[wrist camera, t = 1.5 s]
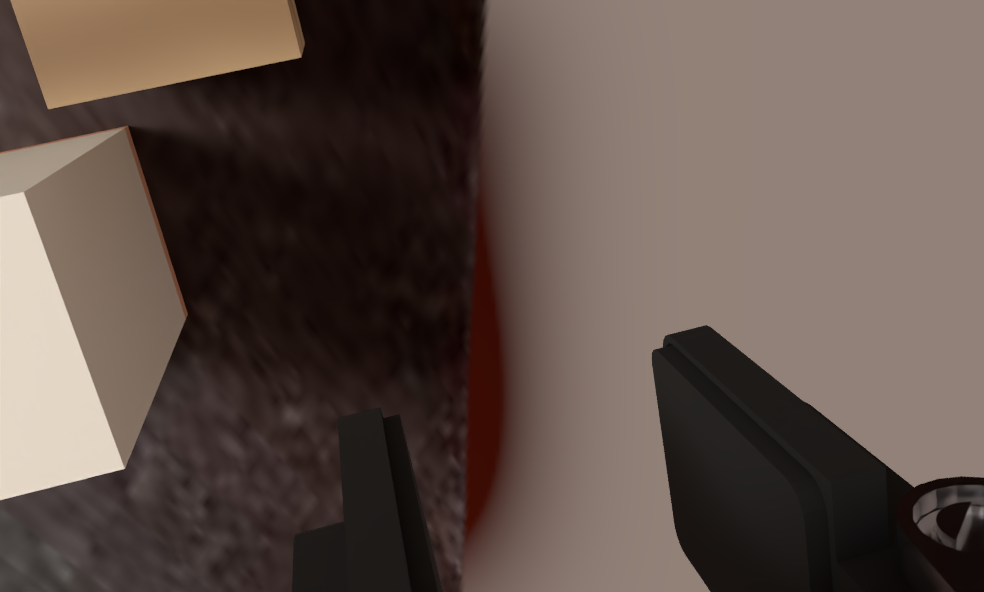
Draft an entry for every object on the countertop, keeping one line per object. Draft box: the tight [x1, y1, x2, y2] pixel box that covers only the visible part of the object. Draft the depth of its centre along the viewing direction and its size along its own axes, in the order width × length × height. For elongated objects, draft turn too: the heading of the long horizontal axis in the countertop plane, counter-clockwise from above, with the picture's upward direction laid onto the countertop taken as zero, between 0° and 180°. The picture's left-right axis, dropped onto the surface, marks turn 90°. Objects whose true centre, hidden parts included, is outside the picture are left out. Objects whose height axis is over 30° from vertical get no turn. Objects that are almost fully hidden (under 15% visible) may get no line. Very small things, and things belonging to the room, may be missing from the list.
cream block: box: [0, 126, 188, 500], centre depth 26 cm, size 7×5×12 cm
